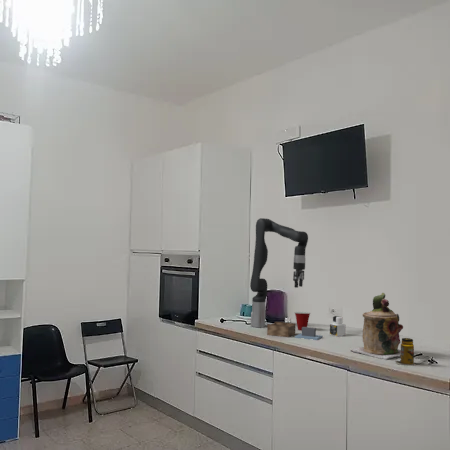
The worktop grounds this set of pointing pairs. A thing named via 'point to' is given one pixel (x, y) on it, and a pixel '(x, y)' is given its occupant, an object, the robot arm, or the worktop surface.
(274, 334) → the wooden box
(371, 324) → the cookie jar
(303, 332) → the cover plate
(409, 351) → the condiment
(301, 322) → the plastic cup
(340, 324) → the medicine bottle
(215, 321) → the worktop surface
